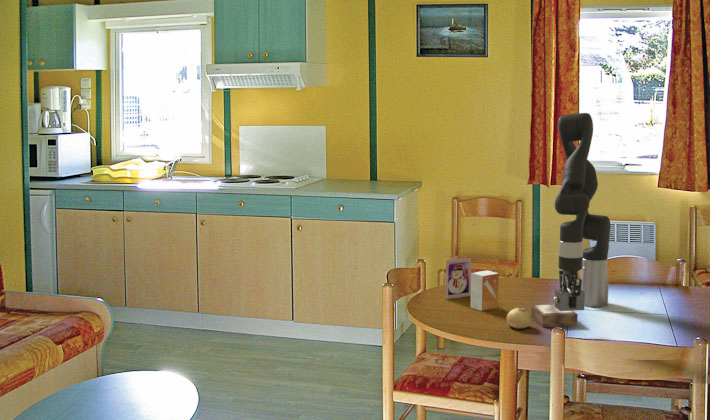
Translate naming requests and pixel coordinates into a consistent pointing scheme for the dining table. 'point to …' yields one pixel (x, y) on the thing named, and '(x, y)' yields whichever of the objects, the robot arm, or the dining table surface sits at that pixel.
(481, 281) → the small box
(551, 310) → the stand
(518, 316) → the onion
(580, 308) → the block
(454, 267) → the greeting card
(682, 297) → the dining table surface
